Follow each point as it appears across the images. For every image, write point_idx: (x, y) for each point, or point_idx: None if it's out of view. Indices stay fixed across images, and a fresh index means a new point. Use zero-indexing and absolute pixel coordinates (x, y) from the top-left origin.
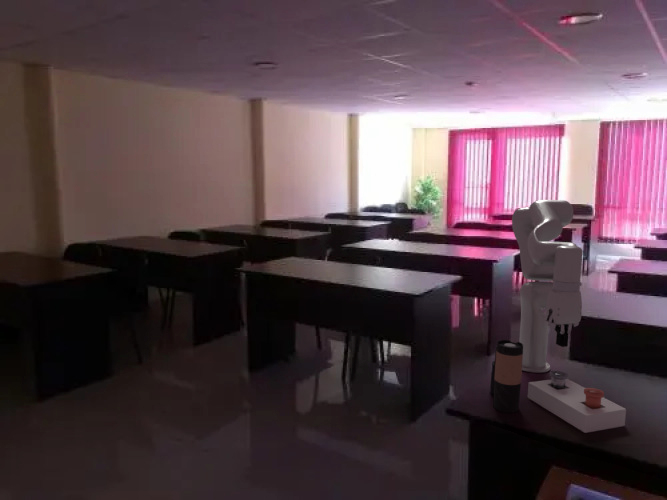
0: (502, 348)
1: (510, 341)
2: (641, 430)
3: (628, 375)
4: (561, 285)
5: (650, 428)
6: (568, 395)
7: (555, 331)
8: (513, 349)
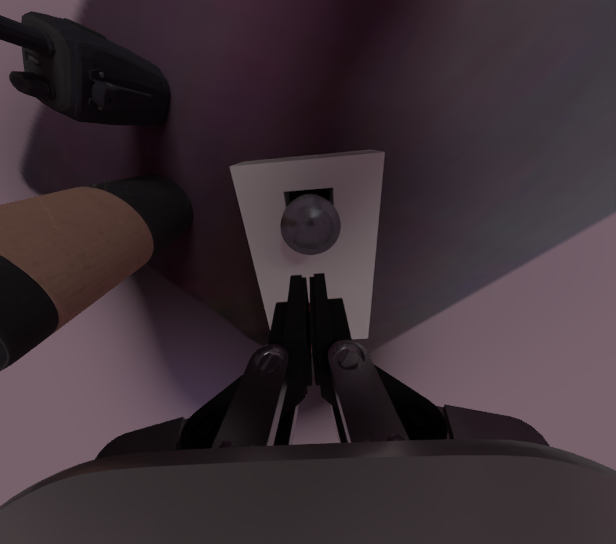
0: None
1: None
2: (373, 328)
3: None
4: None
5: (393, 326)
6: (297, 271)
7: (256, 353)
8: None
